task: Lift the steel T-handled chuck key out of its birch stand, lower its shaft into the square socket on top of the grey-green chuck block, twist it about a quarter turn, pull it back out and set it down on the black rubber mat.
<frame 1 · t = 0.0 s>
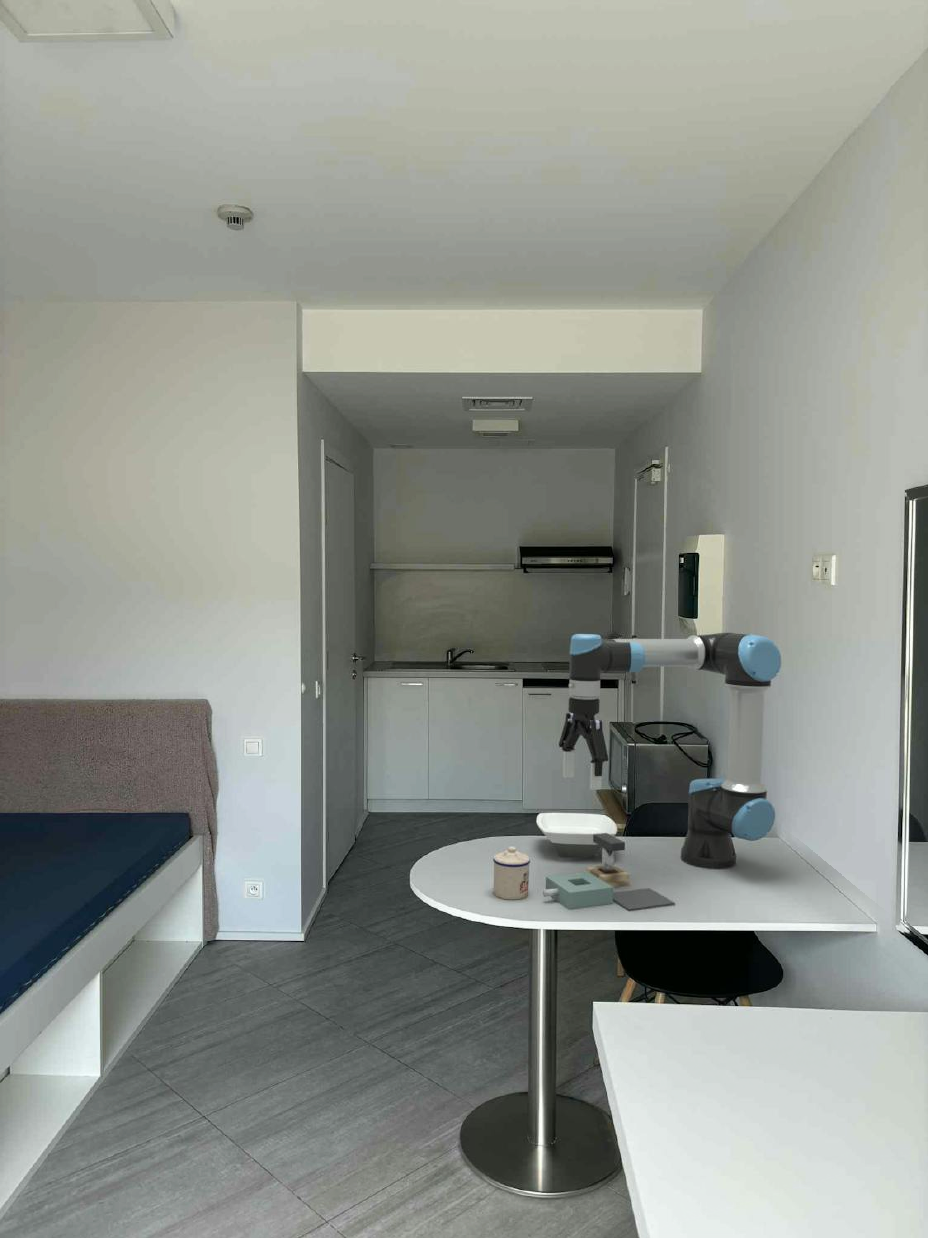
hand: (581, 783, 218), 28 cm above the table, fingers open, 13 cm apart
teacup with lid: (511, 893, 220), on the table
chuck block: (578, 898, 217), on the table
key stand: (607, 882, 230), on the table
bowl: (575, 852, 256), on the table
chuck key: (607, 882, 230), resting in key stand
mat: (639, 900, 217), on the table
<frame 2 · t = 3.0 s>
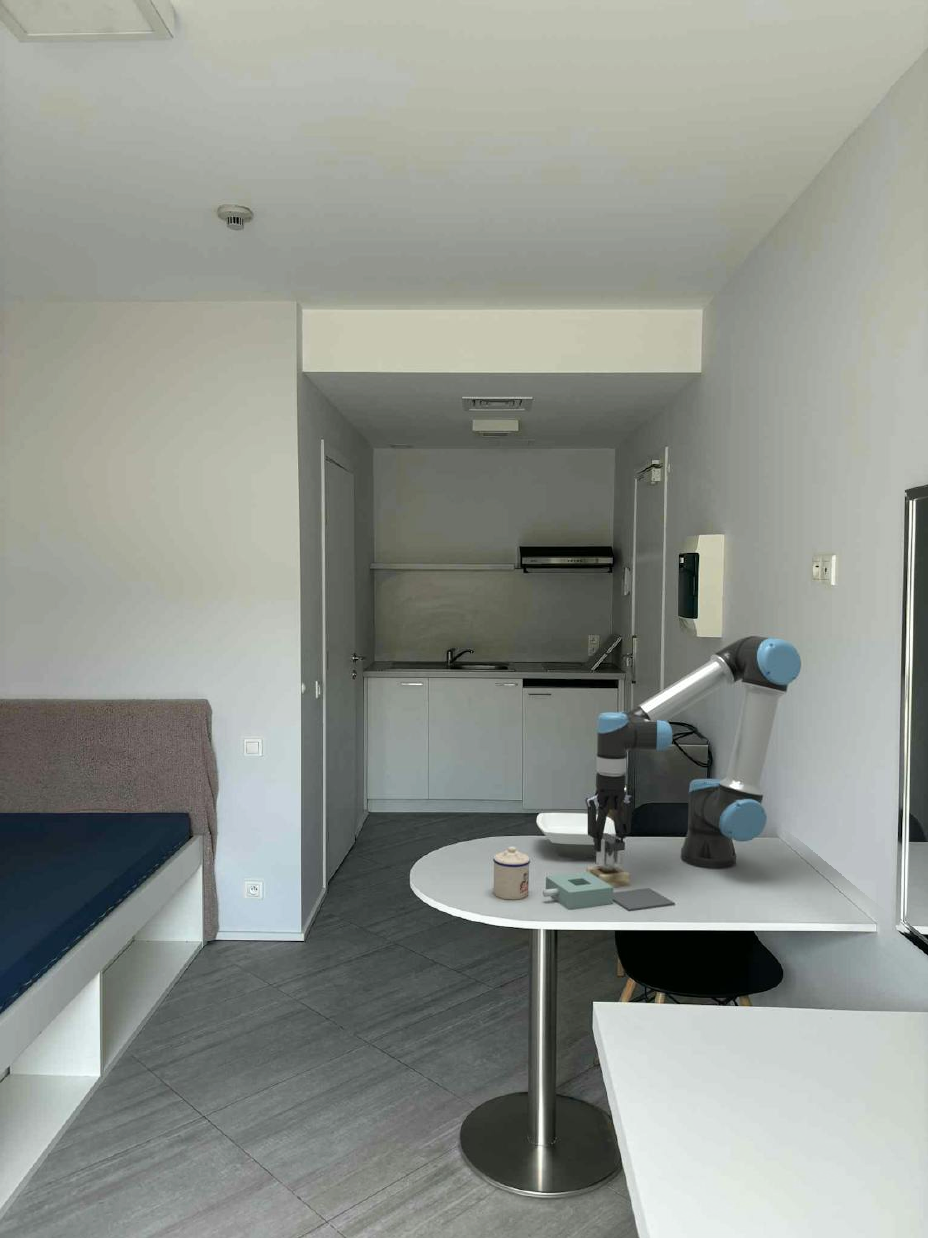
hand: (608, 862, 229), 5 cm above the table, fingers closed on chuck key, 4 cm apart
chuck key: (607, 882, 230), resting in key stand, touching gripper
everything else where it was.
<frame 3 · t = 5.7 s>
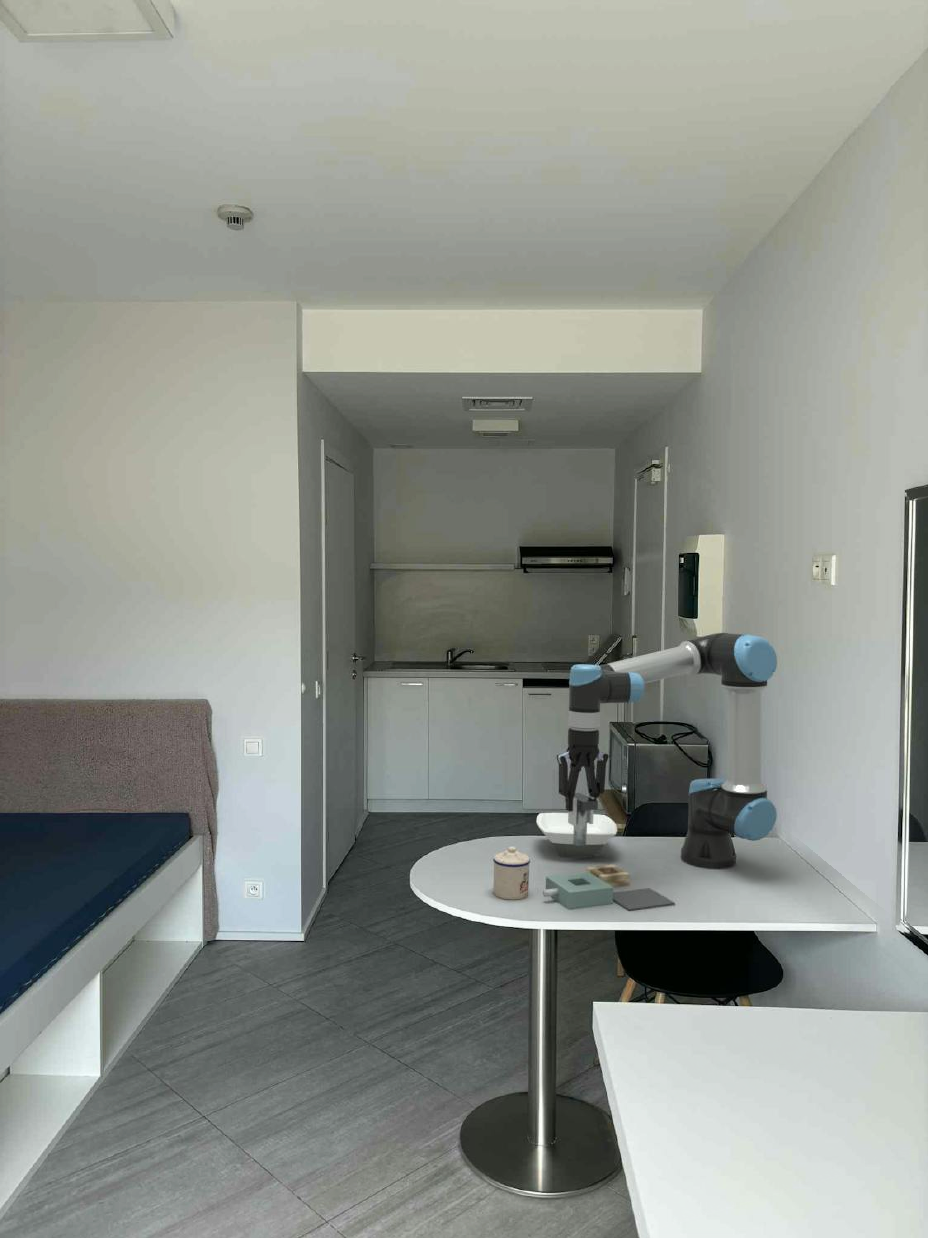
hand: (580, 823, 217), 19 cm above the table, fingers closed on chuck key, 4 cm apart
chuck key: (579, 844, 217), point 13 cm above the table, touching gripper
everything else where it was.
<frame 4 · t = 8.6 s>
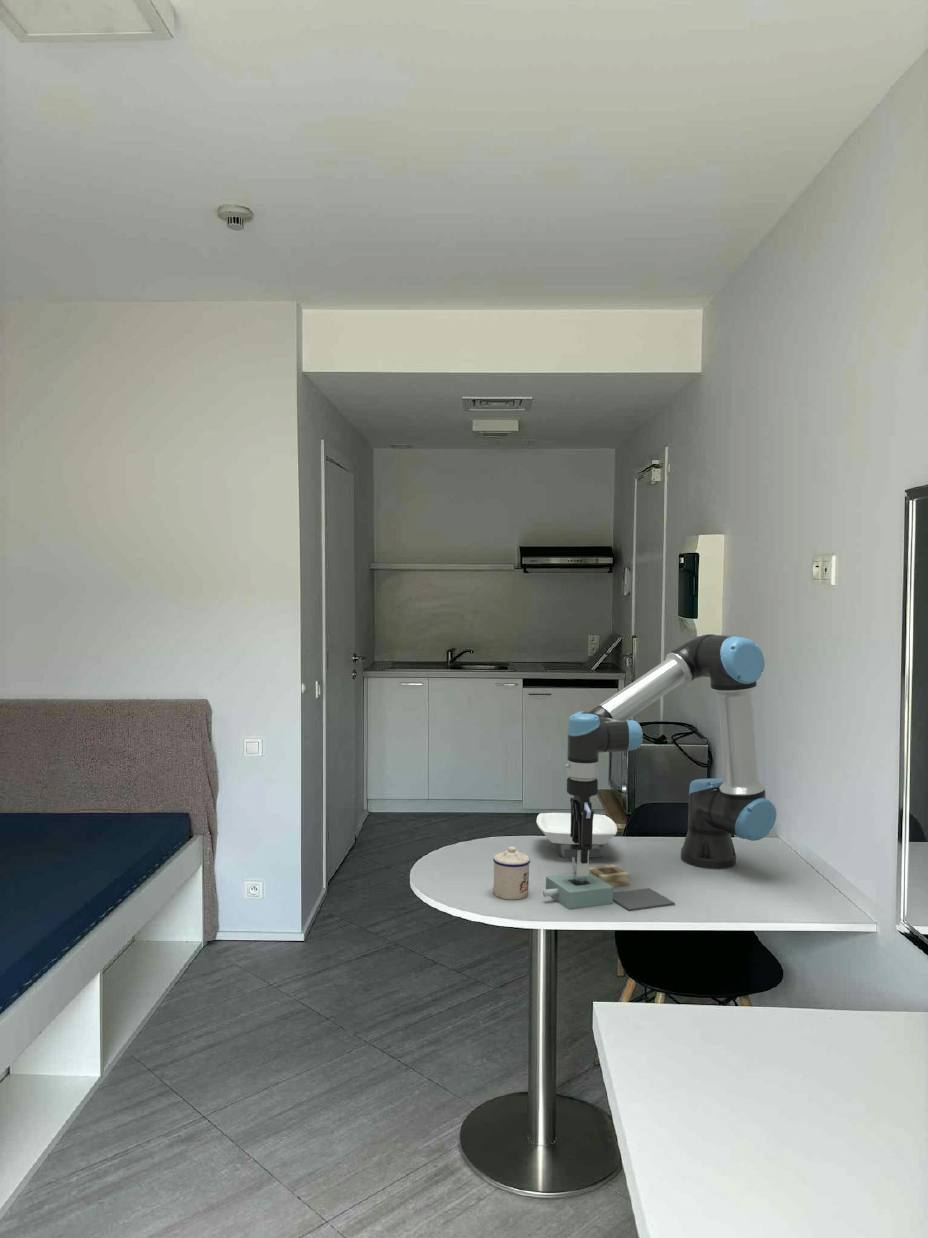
hand: (580, 872, 217), 6 cm above the table, fingers closed on chuck key, 4 cm apart
chuck key: (579, 893, 217), point 1 cm above the table, touching gripper
everything else where it was.
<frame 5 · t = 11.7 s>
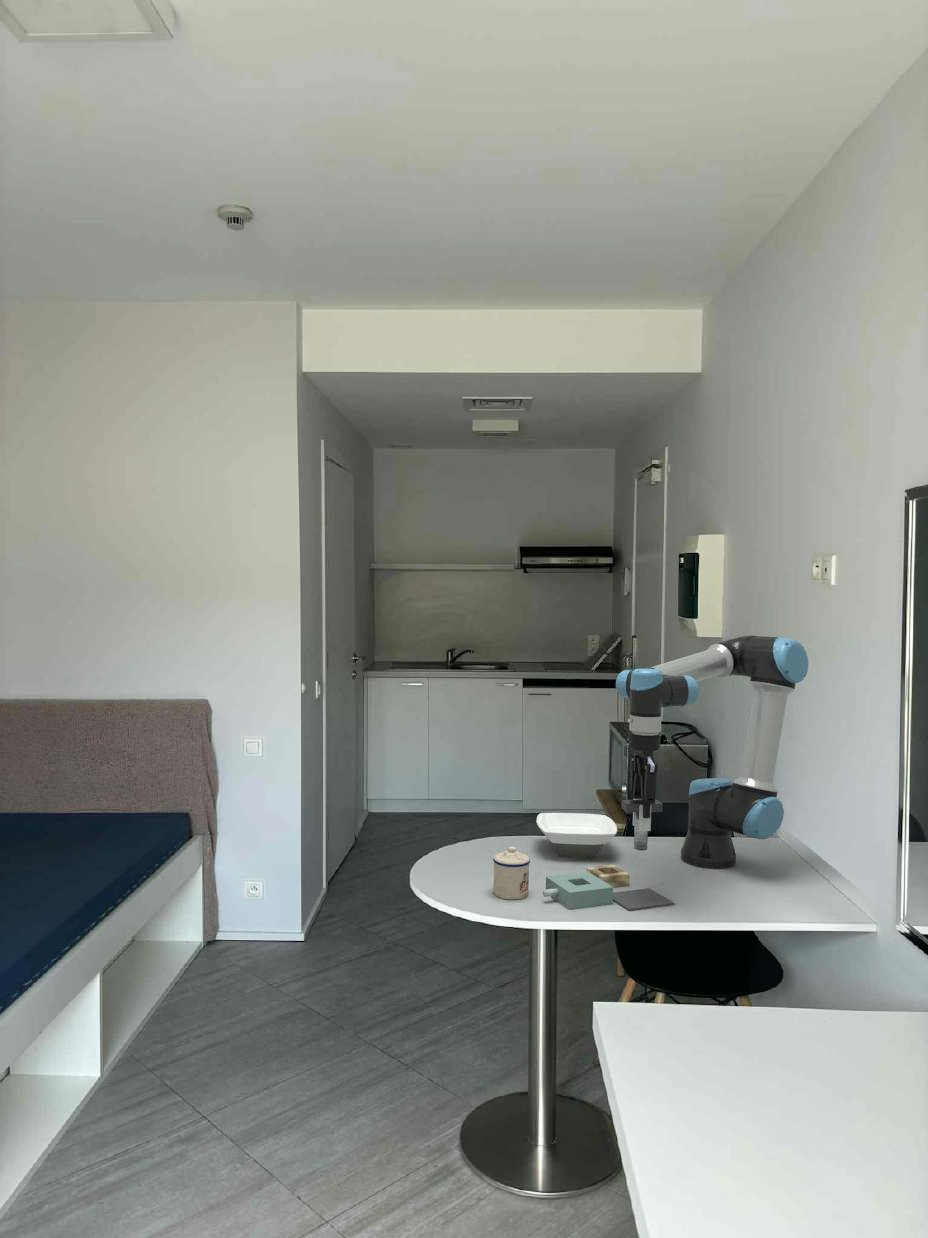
hand: (641, 827, 216), 18 cm above the table, fingers closed on chuck key, 4 cm apart
chuck key: (640, 848, 216), point 13 cm above the table, touching gripper
everything else where it was.
when the fingers open (7 cm above the table, at t = 14.3 s): chuck key stays where it is, resting on mat.
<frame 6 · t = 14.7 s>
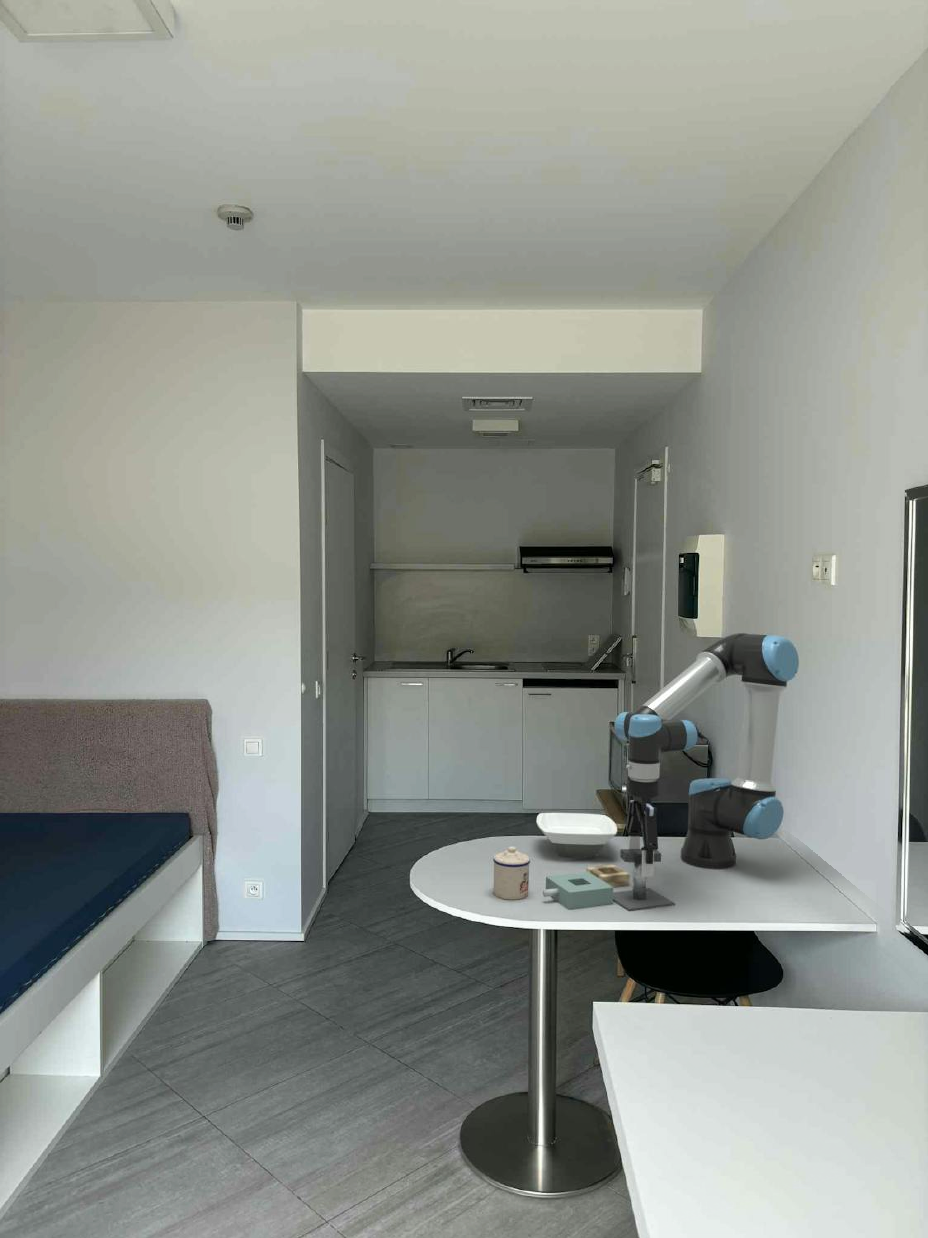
hand: (640, 869, 217), 8 cm above the table, fingers open, 10 cm apart
chuck key: (639, 898, 217), point 1 cm above the table, touching mat
everything else where it was.
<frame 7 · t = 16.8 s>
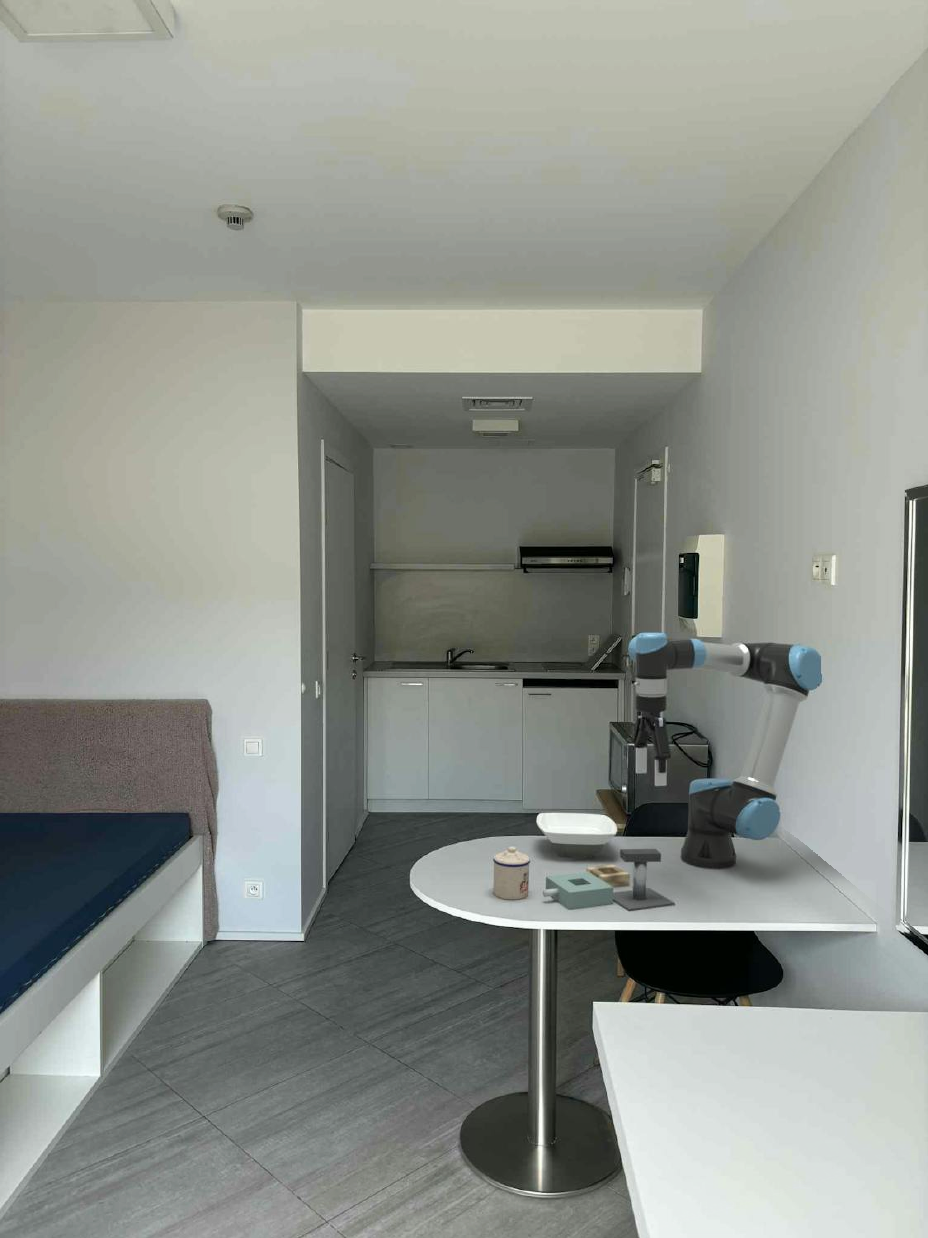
hand: (650, 779, 222), 29 cm above the table, fingers open, 13 cm apart
nothing on the table moved.
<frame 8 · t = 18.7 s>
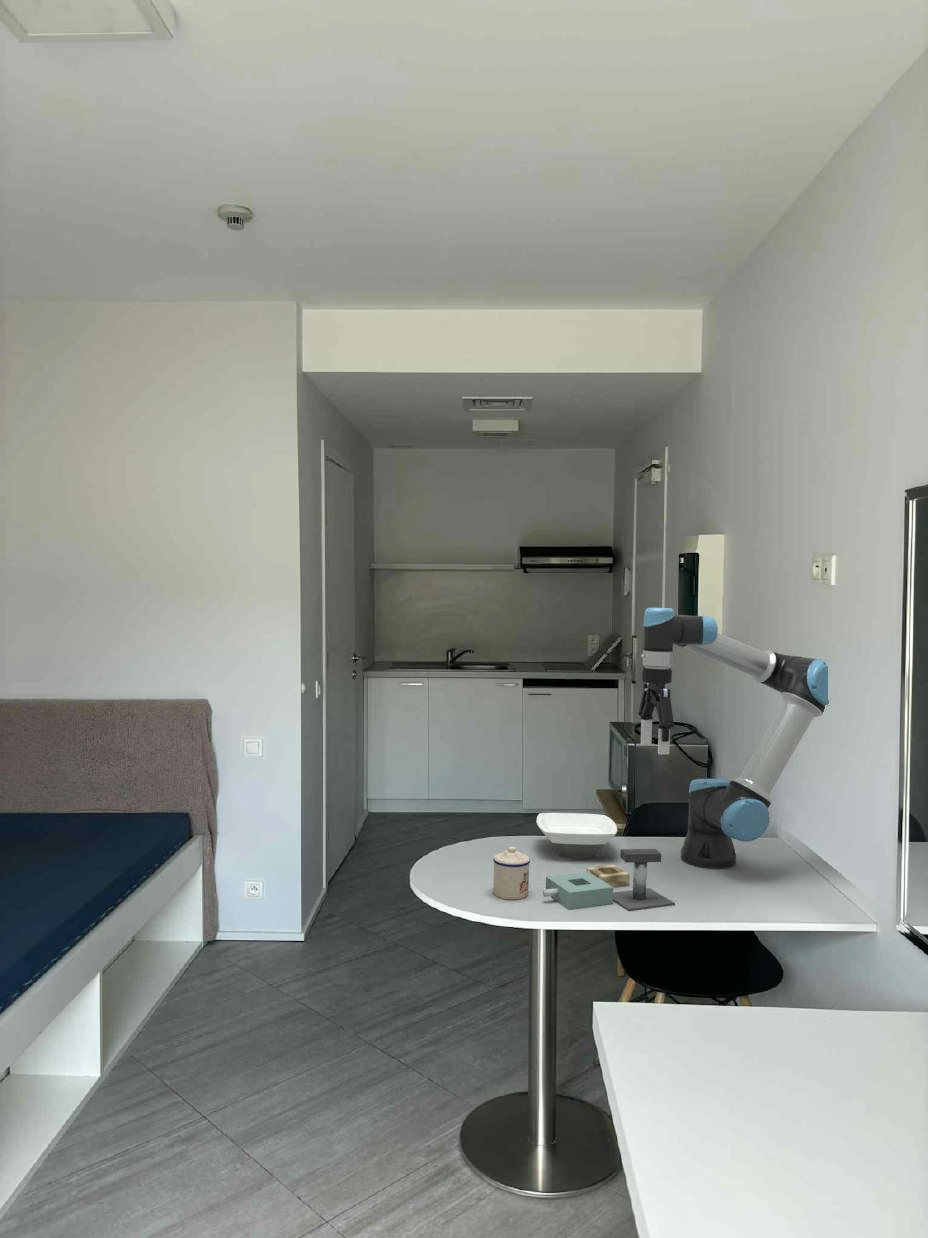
hand: (654, 749, 230), 35 cm above the table, fingers open, 13 cm apart
nothing on the table moved.
at the end: chuck key inside the target area on the mat (0.1 cm from its centre), point 0.5 cm above the mat's base; the gripper is holding nothing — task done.
